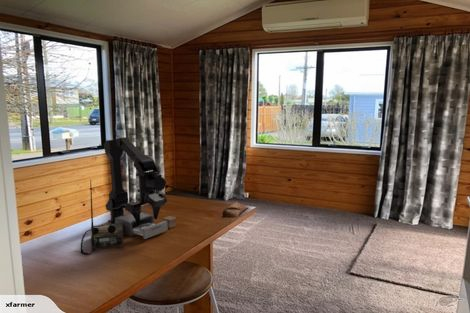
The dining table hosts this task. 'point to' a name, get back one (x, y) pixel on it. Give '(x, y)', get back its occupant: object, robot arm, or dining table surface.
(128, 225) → the grey drawer cabinet
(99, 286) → the dining table surface
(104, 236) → the radio
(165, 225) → the tray
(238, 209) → the sunglasses case
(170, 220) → the walnut block
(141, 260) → the dining table surface
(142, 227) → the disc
